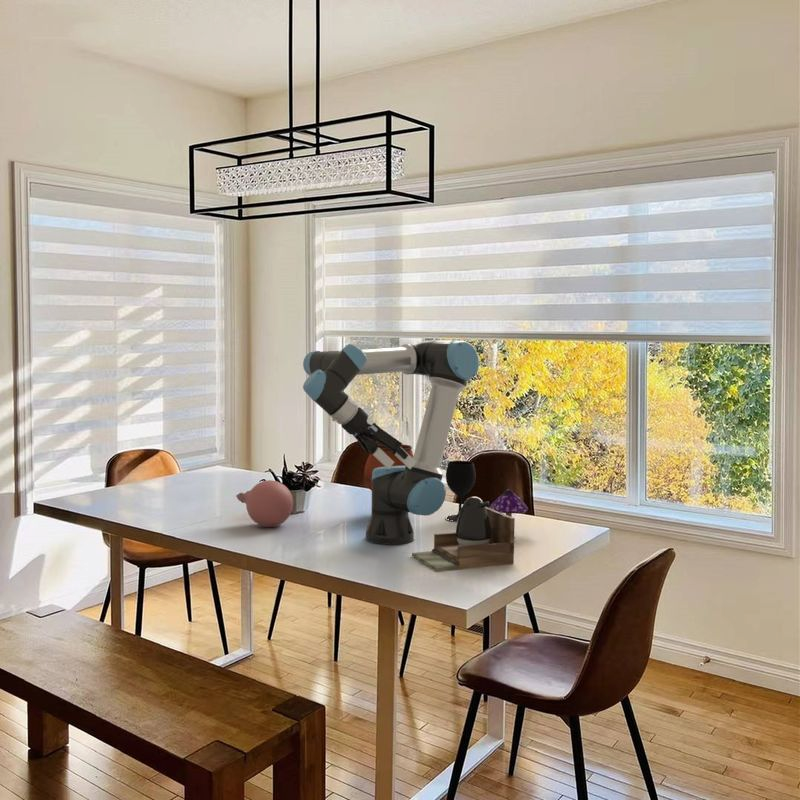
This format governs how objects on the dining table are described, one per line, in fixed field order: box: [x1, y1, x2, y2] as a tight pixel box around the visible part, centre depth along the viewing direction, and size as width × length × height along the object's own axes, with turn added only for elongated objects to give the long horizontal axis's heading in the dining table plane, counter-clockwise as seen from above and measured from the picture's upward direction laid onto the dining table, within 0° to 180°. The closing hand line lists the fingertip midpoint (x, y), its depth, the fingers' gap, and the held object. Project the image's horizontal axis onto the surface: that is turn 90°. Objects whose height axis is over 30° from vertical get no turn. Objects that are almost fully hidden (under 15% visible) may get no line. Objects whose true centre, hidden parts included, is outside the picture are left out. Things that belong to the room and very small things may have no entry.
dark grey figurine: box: [455, 496, 491, 546], centre depth 244 cm, size 10×10×15 cm
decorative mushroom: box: [489, 489, 529, 517], centre depth 274 cm, size 12×12×15 cm
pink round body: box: [236, 479, 294, 528], centre depth 283 cm, size 15×20×15 cm
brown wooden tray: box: [411, 506, 516, 572], centre depth 243 cm, size 17×24×13 cm
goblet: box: [363, 444, 414, 492], centre depth 301 cm, size 19×19×25 cm
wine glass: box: [445, 460, 477, 521], centre depth 297 cm, size 10×10×20 cm
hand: (401, 465), depth 242 cm, fingers open, 13 cm apart
